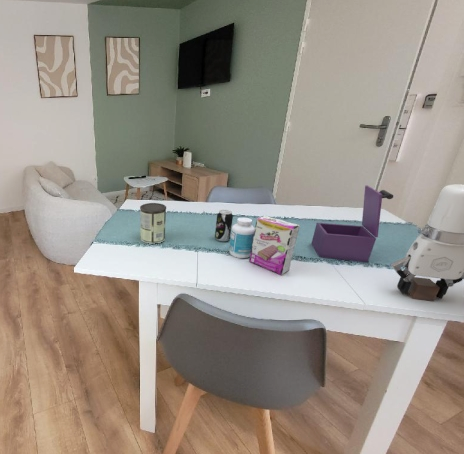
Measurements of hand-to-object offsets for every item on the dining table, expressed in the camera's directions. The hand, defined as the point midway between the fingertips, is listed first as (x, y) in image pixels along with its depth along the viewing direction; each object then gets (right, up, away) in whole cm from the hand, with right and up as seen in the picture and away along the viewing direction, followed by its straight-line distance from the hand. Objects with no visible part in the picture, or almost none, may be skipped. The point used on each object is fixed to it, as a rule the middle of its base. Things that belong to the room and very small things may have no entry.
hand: (418, 293), depth 79 cm
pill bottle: (-37, +8, +26) cm, 46 cm away
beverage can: (-39, +13, +38) cm, 56 cm away
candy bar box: (-32, +5, +17) cm, 36 cm away
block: (0, -1, 0) cm, 1 cm away
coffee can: (-66, +13, +41) cm, 79 cm away
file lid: (+1, +23, +15) cm, 28 cm away
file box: (-3, +9, +24) cm, 25 cm away
